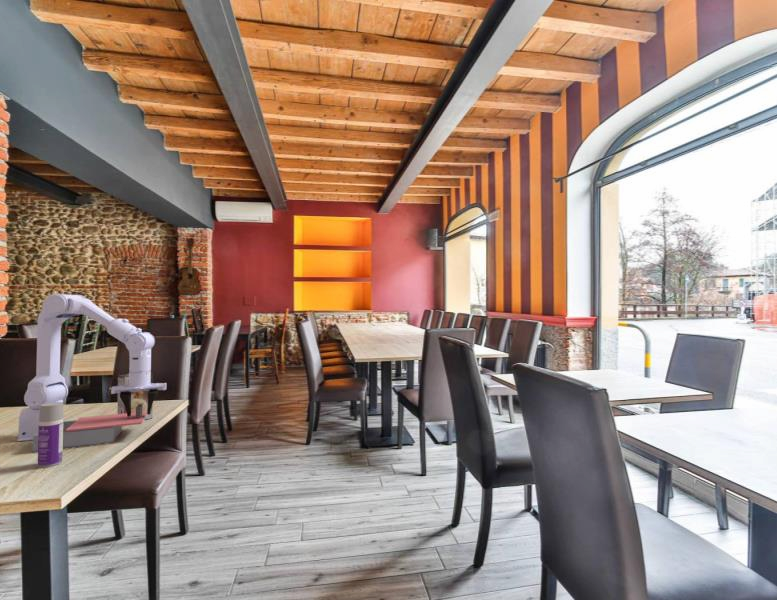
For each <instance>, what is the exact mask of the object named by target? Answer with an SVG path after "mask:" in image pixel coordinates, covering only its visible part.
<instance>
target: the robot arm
mask: <svg viewBox="0 0 777 600" xmlns="http://www.w3.org/2000/svg"><path fill="white" fill-rule="evenodd" d="M79 315H82V316H83V315H84V316H86V317H87V318H90V319H91V320H93V321H95V322H96V323H97V324H100V325H102V326H103V327H105V328H106V332H107V334H109V335H110V336H112V337H113V338H115V339H117V340H118V341H119V342H122V343H123V344H124V345H125V348H126V349H127V351H128V352H129V353H128V356H129V362H128V364H129V366H128V367H129V368H128V369H129V370H128V371H129V372H128V374H129V385H124V386H118V385H114V386H112V387H111V388H110V394H111V395H114V394H118V393H120V398H121V400H122V402H123V403H124V406H125V408H126V412H127V417H128V416H130V415H131V394H132V392H139V391H149V392H148V409H147V415H149V414H150V413H151V408H152V407H153V404H154V401H155V399H156V396H157V395H158V392H159V391H166V390H167V382H164V383H163V382H157V383H154V382H153V383H150V381H151V374H152V372H151V371H152V348H153V347H154V346H155V343H156V341H155V340H156V338H155V337H154V335H153V334H151V332H147V331H142V330H143V329H142V328H140V327H138V328H137V327H136V326H135V325H134V324H133V325H132V324H131V323H130V320H128V319H127V318H115V317H113V316H112V315H110V314H109V313H107V311H105V310H103V309H102V308H100V307H99V306H98V305H96V304H95V303H93V301H92V300H91V299H89V298H86V297H85V296H84V295H82V294H66V293H63V294H62V293H52V294H50V295H49V296H47V297H46V298H45V299H43V300H42V309H41V310H40V313H39V314H38V317H37V333H36V334H37V335H36V365H35V366H36V370H35V371H36V373H35V376H34V377H33V379H31V380H30V381H29V382H28V384H27V390H26V391H25V393H24V396H23V400H24V403H25V405H26V406H27V407H26V408H23V409H21V411H20V414H19V418H18V434H17V435H18V437H17V439H16V440H17V442H23V441H33V436H34V435H35V434H36V433H38V432H39V414H40V405H41V404H45V403H50V402H63V403H64V400H65V399H67V397H68V395H69V389H68V386H67V384H66V377H65V376H63V375H62V374H61V341H62V339H61V338H62V332H61V331H62V324H63V323H64V322H66V321H68V320H69V319H70V318H72V317H75V316H79ZM139 389H140V390H139ZM152 409H153V408H152Z"/></svg>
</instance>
